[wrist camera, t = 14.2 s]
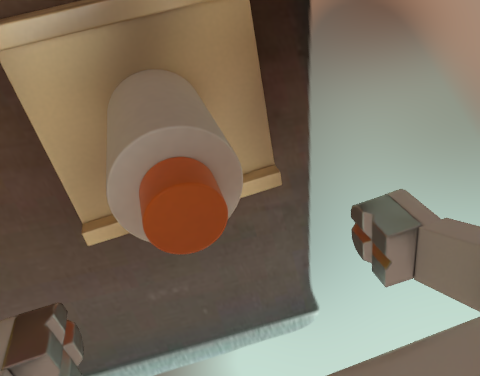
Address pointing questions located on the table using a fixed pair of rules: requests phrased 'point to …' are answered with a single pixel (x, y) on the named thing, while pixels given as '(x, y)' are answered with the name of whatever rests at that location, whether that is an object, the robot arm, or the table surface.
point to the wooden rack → (121, 67)
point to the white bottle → (168, 164)
